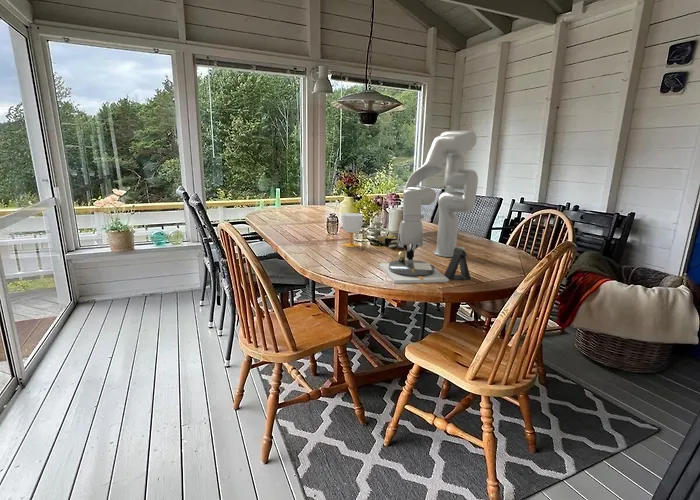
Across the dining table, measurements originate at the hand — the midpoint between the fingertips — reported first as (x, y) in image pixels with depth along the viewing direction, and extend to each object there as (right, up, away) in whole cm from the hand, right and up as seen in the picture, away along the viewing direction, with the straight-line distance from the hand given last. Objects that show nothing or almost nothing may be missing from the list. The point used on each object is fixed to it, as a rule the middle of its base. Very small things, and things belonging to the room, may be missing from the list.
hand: (409, 259), depth 168 cm
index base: (-1, -6, -7) cm, 9 cm away
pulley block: (-6, +7, +46) cm, 47 cm away
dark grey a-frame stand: (+17, -8, -12) cm, 23 cm away
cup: (-26, +6, +40) cm, 48 cm away
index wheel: (-1, -4, -7) cm, 9 cm away
